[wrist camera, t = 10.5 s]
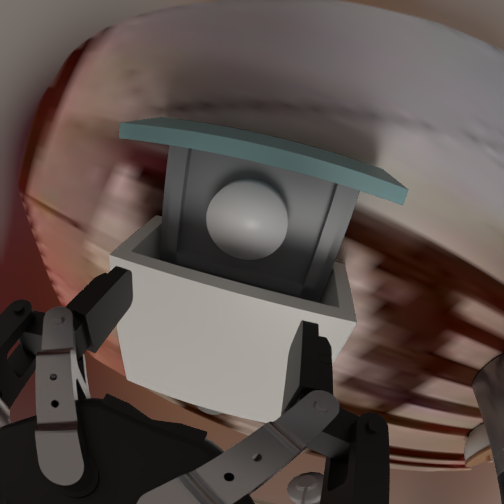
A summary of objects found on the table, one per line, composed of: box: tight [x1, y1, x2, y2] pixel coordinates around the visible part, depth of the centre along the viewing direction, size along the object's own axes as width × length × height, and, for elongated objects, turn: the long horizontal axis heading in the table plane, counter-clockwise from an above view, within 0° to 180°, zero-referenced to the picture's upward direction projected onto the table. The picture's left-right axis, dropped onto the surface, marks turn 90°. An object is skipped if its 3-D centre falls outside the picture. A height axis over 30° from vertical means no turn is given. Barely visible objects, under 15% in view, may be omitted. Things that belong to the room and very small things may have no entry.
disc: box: [206, 178, 289, 260], centre depth 22 cm, size 6×6×2 cm
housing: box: [109, 215, 357, 423], centre depth 26 cm, size 18×16×8 cm
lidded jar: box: [464, 424, 493, 467], centre depth 33 cm, size 11×11×9 cm
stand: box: [197, 405, 222, 415], centre depth 36 cm, size 4×4×4 cm
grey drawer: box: [119, 117, 408, 303], centre depth 21 cm, size 18×16×6 cm
